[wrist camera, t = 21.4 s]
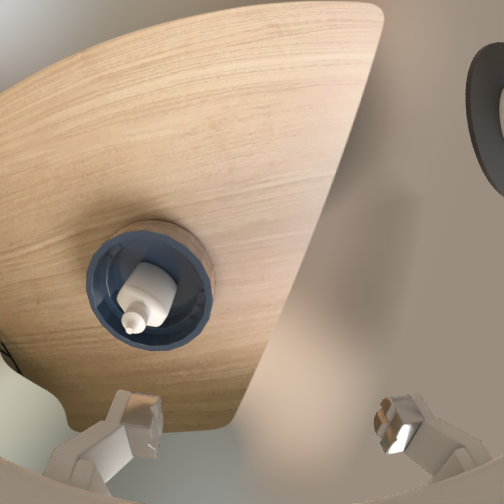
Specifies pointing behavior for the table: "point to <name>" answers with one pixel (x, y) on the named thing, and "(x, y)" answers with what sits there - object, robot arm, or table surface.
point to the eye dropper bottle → (146, 297)
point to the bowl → (169, 259)
